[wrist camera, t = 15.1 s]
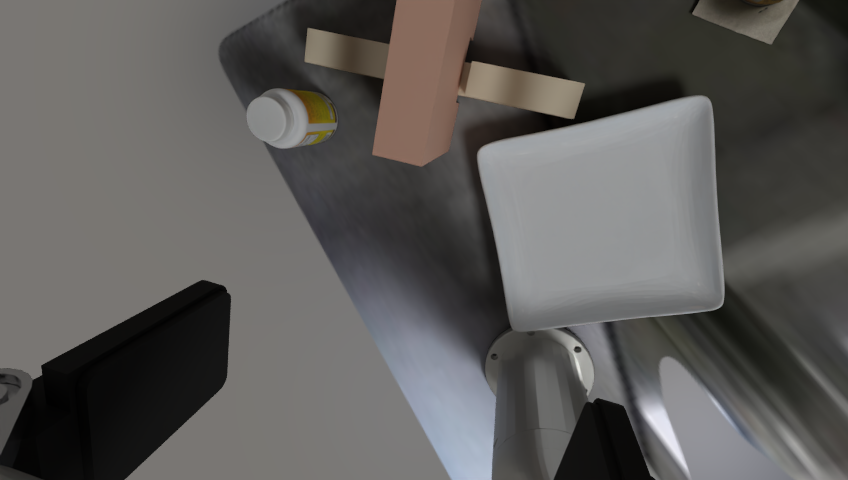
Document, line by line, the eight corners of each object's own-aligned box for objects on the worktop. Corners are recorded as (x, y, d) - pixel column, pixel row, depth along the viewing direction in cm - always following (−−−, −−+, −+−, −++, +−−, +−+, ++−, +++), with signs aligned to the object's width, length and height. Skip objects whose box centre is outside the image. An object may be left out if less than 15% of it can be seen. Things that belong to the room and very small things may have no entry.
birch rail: (576, 87, 40) (584, 83, 35) (566, 118, 41) (573, 119, 36) (329, 37, 43) (307, 27, 39) (326, 67, 44) (304, 61, 40)
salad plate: (697, 91, 38) (714, 89, 35) (712, 296, 43) (728, 311, 40) (475, 144, 44) (472, 146, 41) (512, 320, 49) (511, 335, 46)
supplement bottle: (302, 83, 45) (246, 75, 36) (346, 104, 45) (301, 102, 35) (288, 131, 47) (231, 135, 38) (330, 151, 47) (284, 160, 37)
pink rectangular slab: (448, 150, 44) (421, 166, 31) (413, 142, 45) (372, 154, 32) (485, -16, 39) (471, -82, 26) (444, -23, 39) (411, -91, 26)
